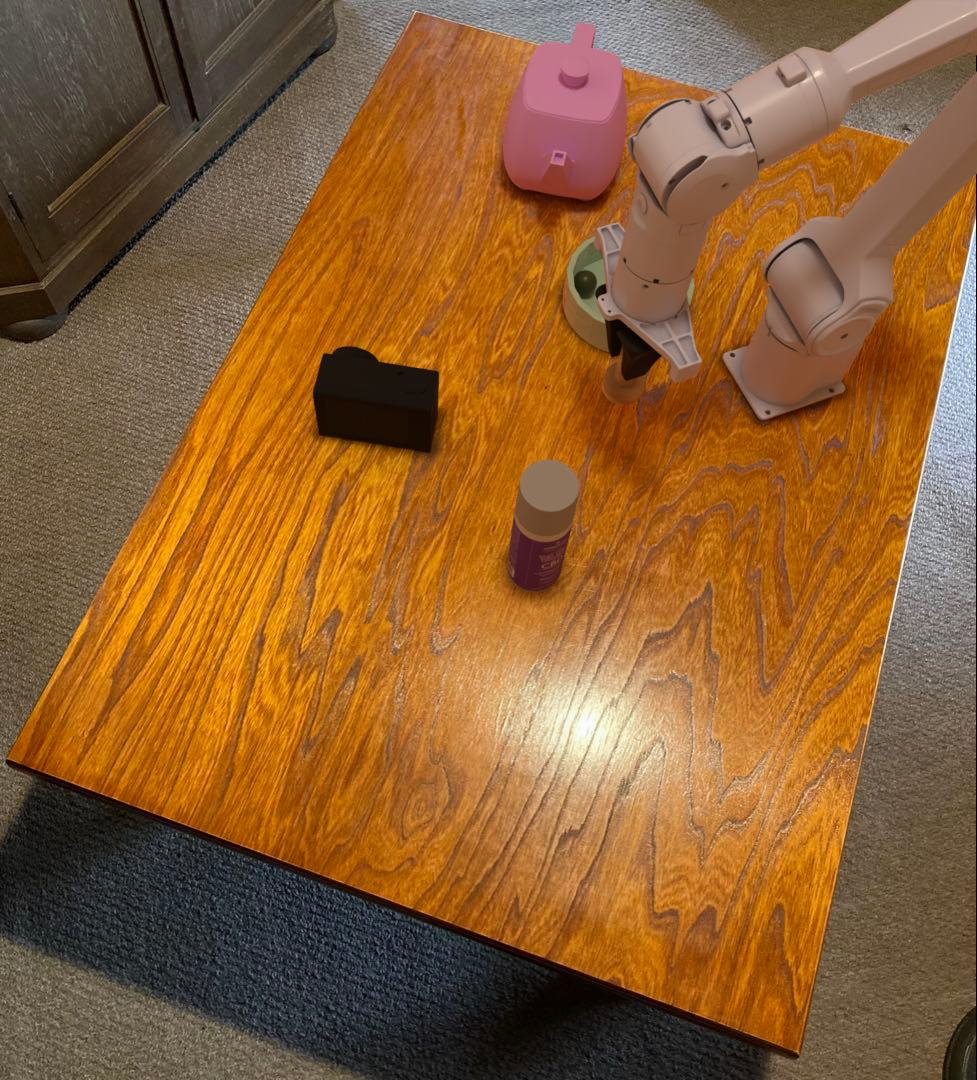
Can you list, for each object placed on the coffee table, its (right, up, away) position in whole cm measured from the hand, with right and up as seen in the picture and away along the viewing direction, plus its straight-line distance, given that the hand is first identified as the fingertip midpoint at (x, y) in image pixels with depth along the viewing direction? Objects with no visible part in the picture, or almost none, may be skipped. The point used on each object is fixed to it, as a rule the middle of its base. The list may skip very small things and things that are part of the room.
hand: (627, 362), depth 91 cm
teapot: (-4, +25, +23) cm, 34 cm away
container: (-8, -18, +2) cm, 19 cm away
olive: (-2, +10, +14) cm, 17 cm away
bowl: (+2, +8, +15) cm, 17 cm away
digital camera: (-22, -4, +8) cm, 24 cm away
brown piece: (0, -2, +4) cm, 4 cm away
